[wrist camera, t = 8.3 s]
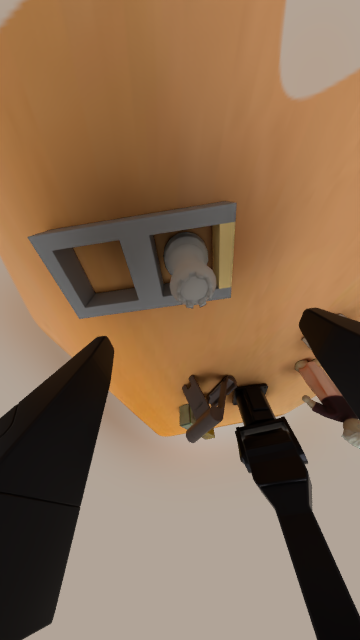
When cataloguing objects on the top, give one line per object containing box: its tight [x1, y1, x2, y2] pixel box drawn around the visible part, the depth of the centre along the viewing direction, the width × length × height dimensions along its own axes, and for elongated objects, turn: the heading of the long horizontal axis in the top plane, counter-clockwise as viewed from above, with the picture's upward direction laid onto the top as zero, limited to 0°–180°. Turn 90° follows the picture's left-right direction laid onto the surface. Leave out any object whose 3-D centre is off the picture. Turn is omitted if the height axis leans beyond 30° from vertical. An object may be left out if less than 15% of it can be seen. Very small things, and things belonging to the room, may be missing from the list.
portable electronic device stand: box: [182, 375, 237, 443], centre depth 29 cm, size 9×8×8 cm
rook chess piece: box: [163, 232, 216, 308], centre depth 14 cm, size 4×4×8 cm
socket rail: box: [28, 201, 237, 319], centre depth 16 cm, size 8×16×3 cm, turn 97°
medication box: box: [179, 404, 215, 439], centre depth 39 cm, size 12×3×4 cm, turn 34°
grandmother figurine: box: [295, 359, 360, 449], centre depth 25 cm, size 8×4×13 cm, turn 106°
